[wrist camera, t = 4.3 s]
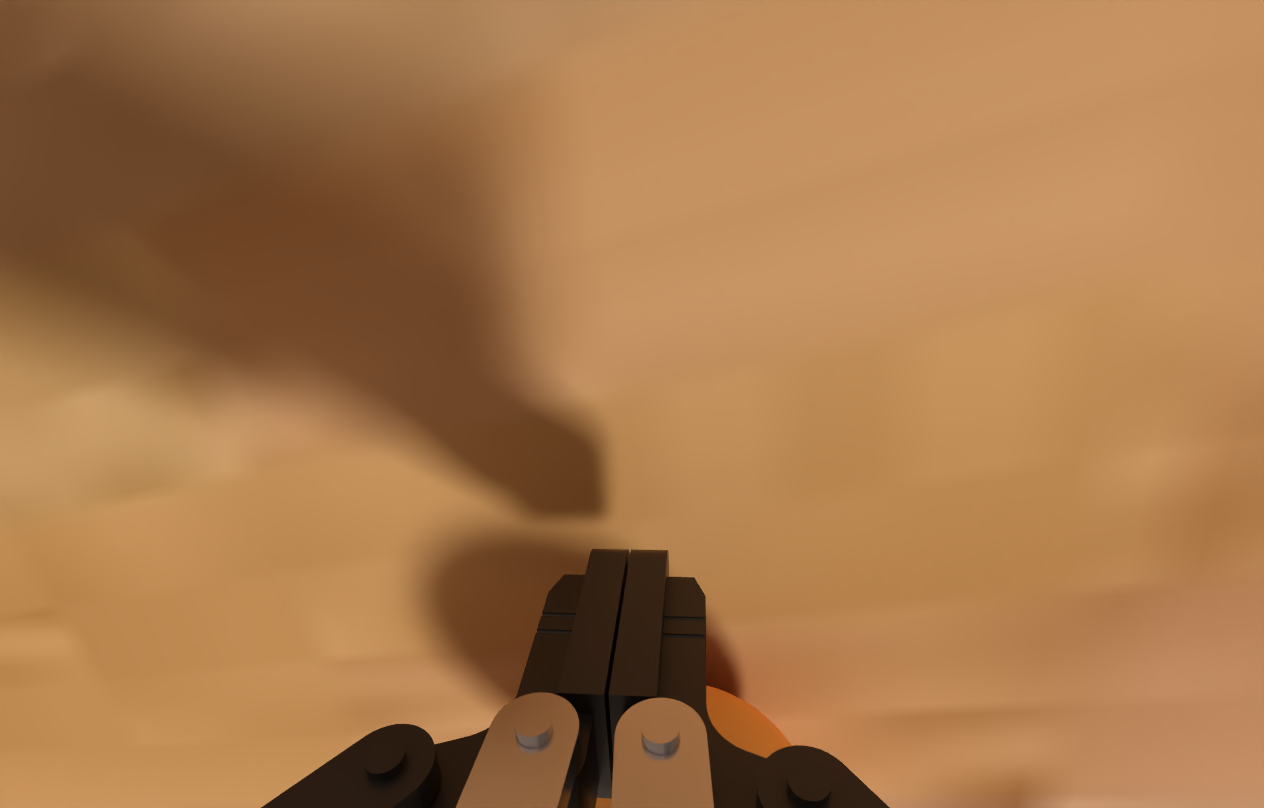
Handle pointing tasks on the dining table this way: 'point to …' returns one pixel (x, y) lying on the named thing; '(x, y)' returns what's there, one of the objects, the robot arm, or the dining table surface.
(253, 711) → the dining table surface
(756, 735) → the ball
